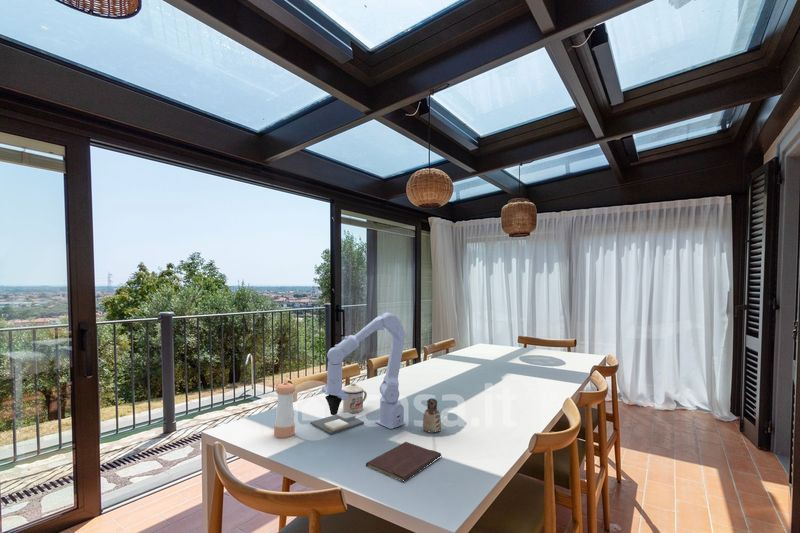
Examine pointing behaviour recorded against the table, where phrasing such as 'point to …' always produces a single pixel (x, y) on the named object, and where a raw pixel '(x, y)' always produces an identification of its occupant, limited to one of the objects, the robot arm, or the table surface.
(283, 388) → the pepper shaker
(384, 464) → the notebook
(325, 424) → the tile
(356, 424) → the mat
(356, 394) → the teacup with lid
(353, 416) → the slate tile
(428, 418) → the figurine
